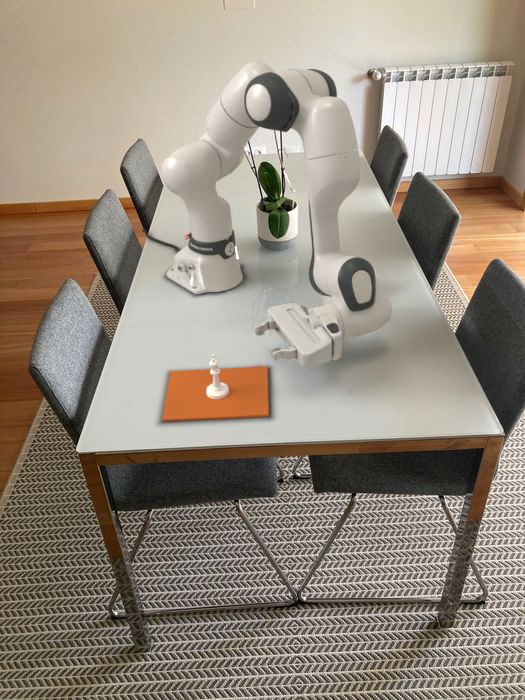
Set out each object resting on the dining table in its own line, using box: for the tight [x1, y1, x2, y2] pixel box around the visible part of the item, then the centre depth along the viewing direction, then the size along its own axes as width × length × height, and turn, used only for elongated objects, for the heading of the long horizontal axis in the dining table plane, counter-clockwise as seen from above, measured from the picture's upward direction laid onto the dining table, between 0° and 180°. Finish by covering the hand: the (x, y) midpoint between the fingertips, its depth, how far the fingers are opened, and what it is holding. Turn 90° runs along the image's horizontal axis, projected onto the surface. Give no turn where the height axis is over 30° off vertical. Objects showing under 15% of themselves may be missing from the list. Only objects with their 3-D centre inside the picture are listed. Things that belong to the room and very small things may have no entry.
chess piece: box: [206, 353, 229, 399], centre depth 126 cm, size 5×5×10 cm
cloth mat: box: [161, 366, 270, 422], centre depth 129 cm, size 22×16×1 cm
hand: (263, 342), depth 127 cm, fingers open, 8 cm apart
